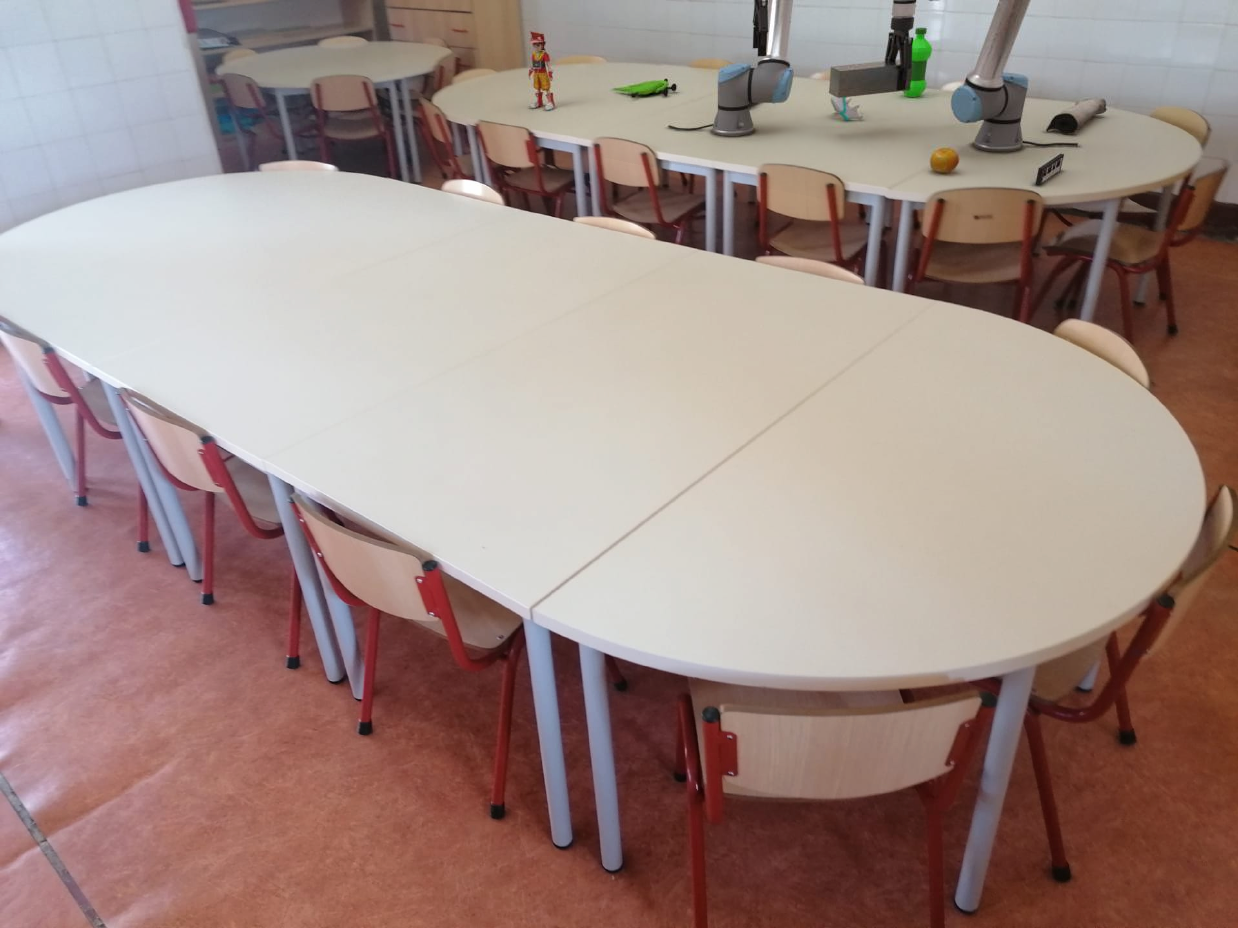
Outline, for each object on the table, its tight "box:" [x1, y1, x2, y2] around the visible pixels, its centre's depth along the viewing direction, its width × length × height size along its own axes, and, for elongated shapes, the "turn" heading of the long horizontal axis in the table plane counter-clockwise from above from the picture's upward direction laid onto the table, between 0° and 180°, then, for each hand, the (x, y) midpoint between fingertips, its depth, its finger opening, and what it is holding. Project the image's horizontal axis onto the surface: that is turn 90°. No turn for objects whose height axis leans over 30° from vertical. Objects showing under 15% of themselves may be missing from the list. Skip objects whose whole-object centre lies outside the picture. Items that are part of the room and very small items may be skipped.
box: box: [828, 59, 913, 98], centre depth 314 cm, size 27×8×9 cm, turn 102°
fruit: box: [929, 147, 960, 174], centre depth 283 cm, size 8×8×8 cm
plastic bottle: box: [902, 27, 933, 98], centre depth 359 cm, size 10×10×25 cm
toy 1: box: [527, 31, 556, 111], centre depth 374 cm, size 12×9×30 cm
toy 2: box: [612, 78, 677, 99], centre depth 396 cm, size 28×5×30 cm
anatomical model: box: [830, 95, 864, 121], centre depth 343 cm, size 15×10×10 cm
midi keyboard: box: [1035, 153, 1065, 186], centre depth 273 cm, size 18×1×5 cm, turn 138°
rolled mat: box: [1045, 97, 1108, 135], centre depth 319 cm, size 30×9×10 cm
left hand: (759, 52), depth 293 cm, fingers open, 13 cm apart
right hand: (895, 87), depth 318 cm, fingers closed on box, 8 cm apart
